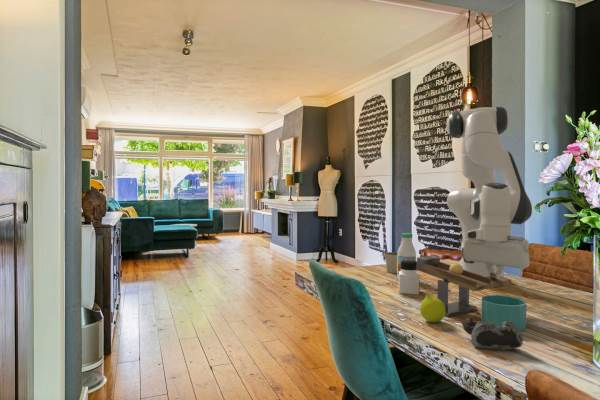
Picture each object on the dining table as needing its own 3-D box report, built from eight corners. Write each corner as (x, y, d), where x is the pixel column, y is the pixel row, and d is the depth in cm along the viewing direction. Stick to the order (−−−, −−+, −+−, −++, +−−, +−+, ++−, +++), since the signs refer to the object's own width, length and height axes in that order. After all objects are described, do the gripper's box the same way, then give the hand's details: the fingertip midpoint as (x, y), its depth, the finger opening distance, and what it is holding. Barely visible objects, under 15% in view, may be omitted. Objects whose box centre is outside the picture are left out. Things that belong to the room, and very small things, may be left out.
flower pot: (380, 270, 195) (381, 252, 195) (399, 269, 196) (400, 251, 196) (387, 274, 185) (387, 255, 185) (407, 273, 186) (407, 255, 186)
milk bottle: (393, 279, 174) (393, 232, 174) (408, 278, 177) (408, 232, 177) (404, 283, 167) (405, 234, 167) (419, 281, 170) (420, 233, 170)
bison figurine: (525, 355, 95) (509, 337, 105) (526, 325, 95) (510, 311, 105) (471, 352, 97) (461, 335, 107) (471, 323, 96) (461, 309, 106)
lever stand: (457, 304, 136) (458, 274, 136) (476, 309, 130) (477, 278, 130) (429, 311, 129) (430, 279, 128) (448, 316, 123) (448, 283, 123)
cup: (496, 316, 123) (496, 293, 123) (533, 326, 114) (534, 302, 114) (473, 322, 117) (473, 298, 117) (511, 334, 108) (512, 308, 108)
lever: (451, 266, 147) (453, 252, 147) (510, 285, 129) (512, 270, 129) (415, 271, 137) (417, 257, 137) (473, 293, 119) (476, 277, 118)
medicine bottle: (419, 294, 149) (419, 262, 148) (399, 293, 150) (399, 261, 150) (417, 290, 156) (418, 259, 155) (398, 289, 157) (398, 258, 157)
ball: (467, 268, 127) (461, 278, 129) (458, 260, 130) (452, 269, 132) (459, 270, 125) (453, 279, 127) (450, 261, 128) (444, 270, 130)
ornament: (416, 318, 122) (416, 284, 121) (439, 317, 122) (439, 284, 122) (425, 326, 114) (425, 290, 114) (449, 325, 115) (450, 290, 115)
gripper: (534, 237, 121) (533, 283, 121) (472, 231, 138) (472, 272, 138) (522, 238, 118) (522, 286, 118) (460, 232, 135) (460, 274, 135)
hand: (494, 278), depth 128 cm, fingers closed
